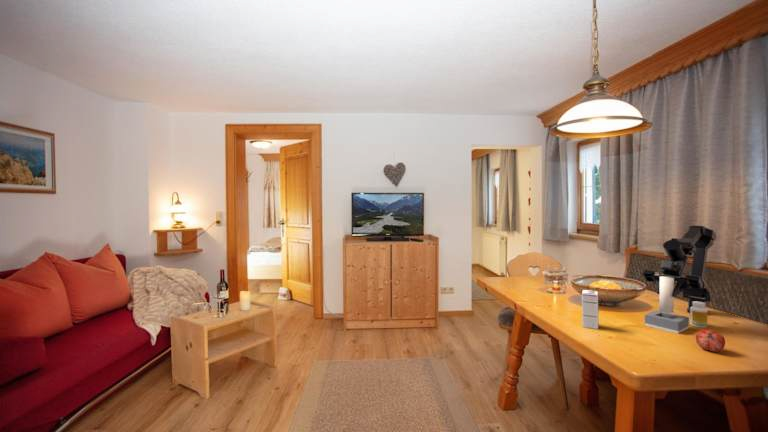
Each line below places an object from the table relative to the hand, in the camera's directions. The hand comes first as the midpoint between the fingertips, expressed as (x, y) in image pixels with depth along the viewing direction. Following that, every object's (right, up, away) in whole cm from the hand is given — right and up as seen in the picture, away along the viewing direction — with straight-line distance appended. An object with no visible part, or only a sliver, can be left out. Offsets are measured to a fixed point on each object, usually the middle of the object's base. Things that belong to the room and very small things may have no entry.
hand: (665, 294), depth 138 cm
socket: (+1, -13, +1) cm, 13 cm away
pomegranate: (-2, -14, -21) cm, 26 cm away
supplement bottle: (+16, -13, +2) cm, 21 cm away
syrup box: (-29, -14, +3) cm, 32 cm away
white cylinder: (+1, -7, +1) cm, 7 cm away
